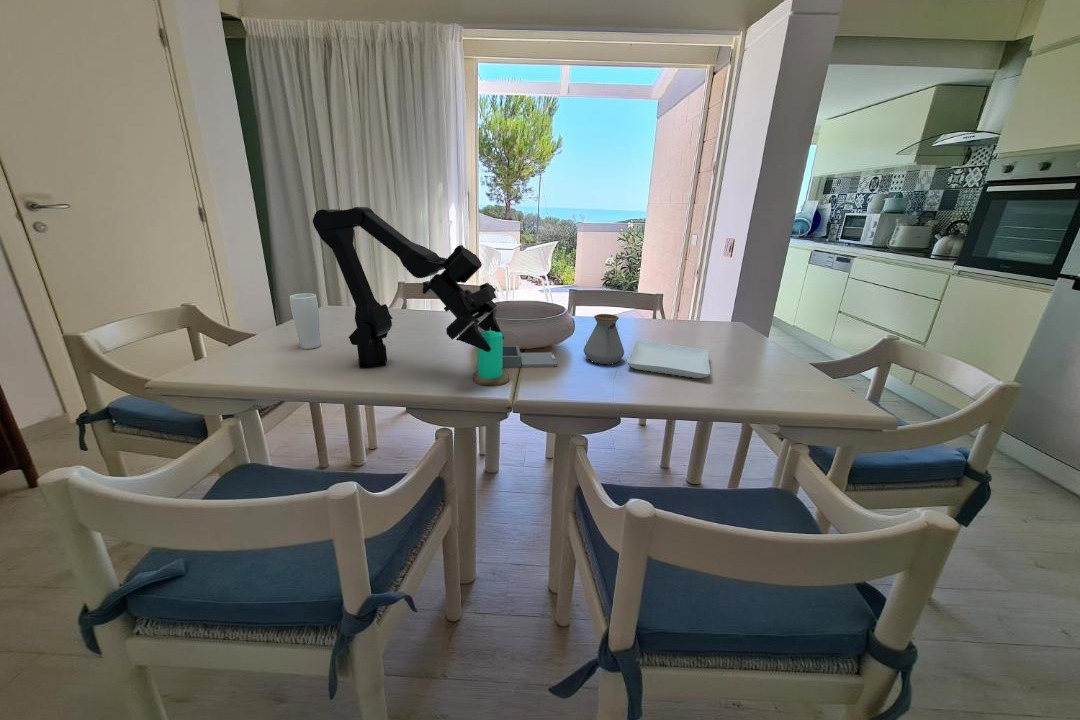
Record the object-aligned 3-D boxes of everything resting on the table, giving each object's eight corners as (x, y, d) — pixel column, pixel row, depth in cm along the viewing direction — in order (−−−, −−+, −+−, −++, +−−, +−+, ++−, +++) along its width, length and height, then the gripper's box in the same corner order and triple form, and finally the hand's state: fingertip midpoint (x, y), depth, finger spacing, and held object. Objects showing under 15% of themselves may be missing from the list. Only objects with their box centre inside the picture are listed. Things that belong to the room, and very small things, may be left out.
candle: (494, 380, 102) (494, 332, 98) (473, 376, 105) (472, 328, 101) (506, 372, 108) (507, 326, 104) (486, 368, 110) (486, 323, 106)
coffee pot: (581, 352, 128) (585, 303, 123) (620, 354, 128) (625, 305, 123) (585, 380, 108) (590, 322, 103) (631, 382, 108) (638, 324, 103)
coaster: (479, 388, 101) (479, 383, 101) (468, 375, 109) (468, 370, 108) (514, 383, 105) (514, 378, 104) (502, 370, 112) (502, 366, 112)
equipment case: (485, 367, 114) (485, 357, 113) (484, 355, 123) (484, 345, 122) (557, 366, 116) (557, 356, 115) (551, 355, 125) (552, 345, 124)
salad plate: (709, 385, 109) (711, 373, 107) (624, 373, 115) (626, 361, 114) (706, 359, 128) (708, 348, 126) (634, 350, 134) (635, 339, 133)
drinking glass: (300, 344, 127) (291, 293, 122) (325, 342, 129) (318, 292, 124) (295, 351, 121) (286, 298, 116) (321, 349, 123) (314, 297, 118)
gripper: (457, 279, 90) (507, 335, 91) (489, 268, 107) (530, 315, 109) (425, 312, 95) (473, 365, 96) (460, 296, 112) (500, 341, 113)
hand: (496, 344), depth 103 cm, fingers open, 9 cm apart
